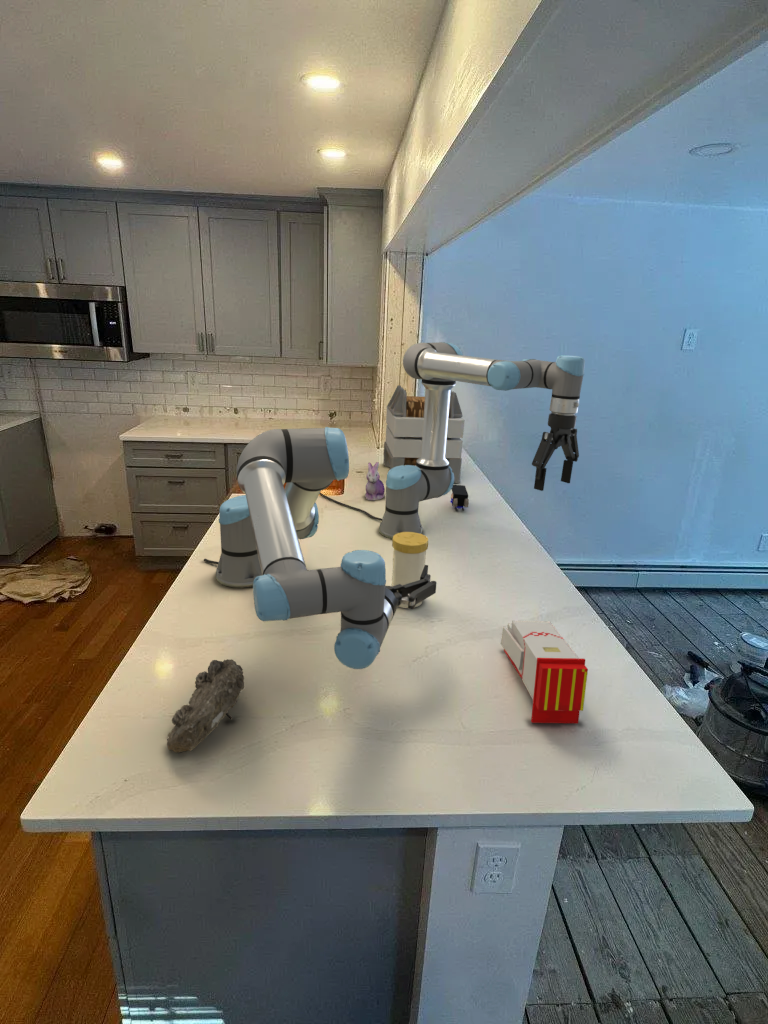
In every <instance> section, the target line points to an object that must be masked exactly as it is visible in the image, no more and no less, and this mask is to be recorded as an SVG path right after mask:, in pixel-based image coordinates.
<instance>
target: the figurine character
mask: <svg viewBox="0 0 768 1024" xmlns="http://www.w3.org/2000/svg"><path fill="white" fill-rule="evenodd" d="M449 502H450V504H451V506H452V507H453V508H454V511H456V512H457V511H458V509H461V511H462V512H464V511H465V508H469V505H470V500H469V492H468V490H467V488H466V485H464V484H463V485H461V484H453V487H452V489H451V494H450V501H449Z"/></svg>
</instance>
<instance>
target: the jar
mask: <svg viewBox="0 0 768 1024" xmlns="http://www.w3.org/2000/svg"><path fill="white" fill-rule="evenodd" d="M392 554H393V555H392V573H391V574H392V575H391V586H395V585H398V584H401V585H405V584H408V583H412V582H415V581H418V580H420V576H421V574H422V571H423V569H424V566H425V565H426V559H427V558H426V557H427V550H426V551H424V552H422V553H416V554H409V553H403V552H399V551H397V550H395V549H394V548H393V552H392ZM397 591H398V590H397ZM422 603H423V601H421V602H420V603H418V604H416V606H415V607H414V608H417V607H420V606H421V605H422ZM398 607H399V608H404V609H409V608H408V605H406V604H401V605H399V606H398Z"/></svg>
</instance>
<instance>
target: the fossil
mask: <svg viewBox="0 0 768 1024" xmlns="http://www.w3.org/2000/svg"><path fill="white" fill-rule="evenodd" d="M243 670H244V669H243V667H242V665H240V664H237V662H236V661H235V660H234V659H232V658H231V659H227V658H226V659H224V660H223V661H222V660H217V659H212V660H211V661H210V663H209V665H208V666H207V671H201V672H199V673H198V674H197V675H196V676H195V680H194V684H195V685H194V687H195V689H194V690H193V693H192V694H191V697H190V698H189V700H188V704H184V705H182V706H181V707H180V709H177V710H176V711H175V713H174V715H173V716H172V718H171V723H172V724H173V727H172V730H171V731H170V732H168V734H167V738H166V741H167V742H166V745H167V749H168V750H169V751H173V752H174V753H176V754H178V753H182V752H188V751H189V752H192V751H193V750H195V748H196V747H197V746H199V744H200V743H201V742H203V741H204V740H205V739H206V738H207V737H208V736H209V735H210V734H211V733H212V732H214V730H215V729H217V727H218V726H219V724H220V722H221V721H222V720H223V719H224V718H225V716H226V717H227V719H229V720H233V717H232V715H230V714H229V710H230V709H231V708H234V706H235V704H236V703H237V702H238V699H239V697H240V695H241V693H242V691H243V690H245V689H244V688H245V675H244V671H243Z"/></svg>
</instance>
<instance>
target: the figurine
mask: <svg viewBox="0 0 768 1024" xmlns="http://www.w3.org/2000/svg"><path fill="white" fill-rule="evenodd" d="M379 465H380V463H379V461H376V462H375V463H374V465H372V463H371V462H368V463H367V468H368V469H367V473H366V475H365V478H366V480H367V482H366V484H365V494H364V498H365V499H366V500H367V501H377V500H382V499H384V497H385V493H386V487H385V484H384V482H383V481H382V480H381V479H380V478H381V475H380V473H379V471H378V469H379Z"/></svg>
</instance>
